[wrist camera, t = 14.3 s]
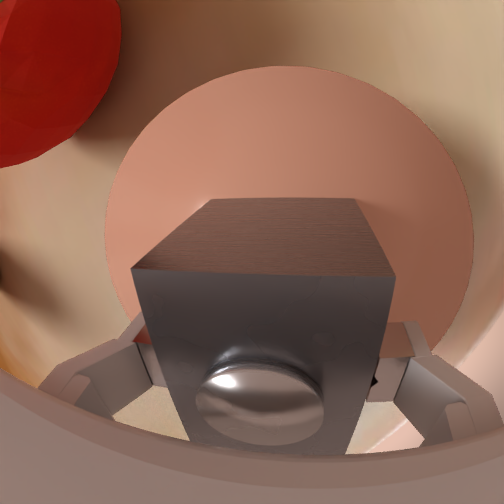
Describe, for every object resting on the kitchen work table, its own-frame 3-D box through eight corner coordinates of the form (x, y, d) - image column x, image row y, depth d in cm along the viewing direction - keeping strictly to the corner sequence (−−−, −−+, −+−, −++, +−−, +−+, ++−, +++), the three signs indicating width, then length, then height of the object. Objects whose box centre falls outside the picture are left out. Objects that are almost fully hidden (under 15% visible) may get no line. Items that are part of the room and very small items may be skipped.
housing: (354, 198, 10) (403, 291, 4) (338, 354, 12) (340, 474, 7) (211, 198, 11) (116, 280, 5) (229, 348, 13) (188, 459, 8)
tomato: (91, 185, 18) (-33, 245, 8) (4, 109, 16) (-92, 131, 7) (197, 4, 12) (85, -80, 3) (74, -33, 11) (-22, -61, 1)
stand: (401, 340, 19) (420, 404, 13) (183, 332, 22) (151, 390, 16) (430, 97, 12) (488, 89, 7) (147, 105, 15) (80, 104, 10)
